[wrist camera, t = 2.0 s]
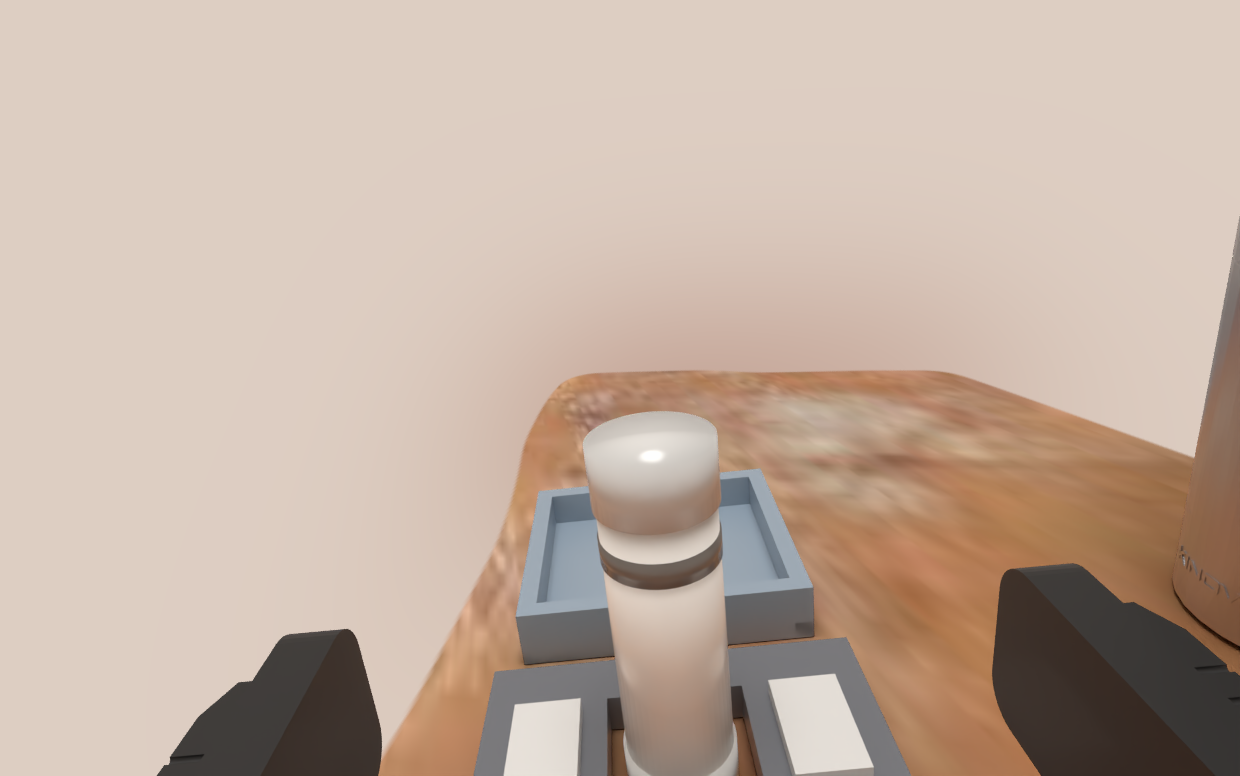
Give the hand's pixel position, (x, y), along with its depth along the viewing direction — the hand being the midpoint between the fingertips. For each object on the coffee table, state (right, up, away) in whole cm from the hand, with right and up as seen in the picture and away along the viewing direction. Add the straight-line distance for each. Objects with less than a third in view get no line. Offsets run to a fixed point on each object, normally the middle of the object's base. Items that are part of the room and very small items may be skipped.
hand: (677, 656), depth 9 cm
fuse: (+2, -10, +16) cm, 19 cm away
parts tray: (+1, -6, +27) cm, 28 cm away
